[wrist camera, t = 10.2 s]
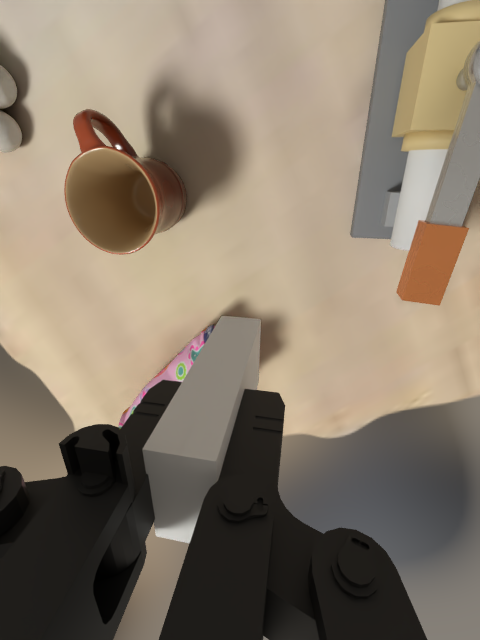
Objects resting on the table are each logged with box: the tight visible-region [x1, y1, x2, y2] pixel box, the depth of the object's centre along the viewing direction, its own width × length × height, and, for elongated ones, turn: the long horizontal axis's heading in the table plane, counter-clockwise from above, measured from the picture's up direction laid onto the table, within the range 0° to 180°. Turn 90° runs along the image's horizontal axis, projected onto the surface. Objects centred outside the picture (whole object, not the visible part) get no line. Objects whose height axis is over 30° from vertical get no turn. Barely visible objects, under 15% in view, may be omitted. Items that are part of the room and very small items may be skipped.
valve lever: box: [397, 41, 480, 305], centre depth 21 cm, size 16×3×2 cm, turn 175°
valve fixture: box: [350, 0, 480, 251], centre depth 24 cm, size 24×10×11 cm, turn 0°
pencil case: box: [119, 325, 215, 429], centre depth 43 cm, size 21×9×9 cm, turn 137°
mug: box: [65, 109, 187, 254], centre depth 32 cm, size 12×9×10 cm
